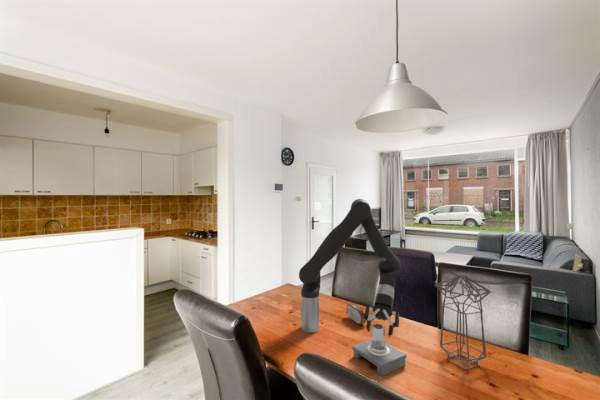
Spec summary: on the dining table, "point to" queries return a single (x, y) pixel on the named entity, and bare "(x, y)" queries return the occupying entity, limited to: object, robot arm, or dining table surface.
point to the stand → (381, 357)
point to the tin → (355, 313)
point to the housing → (378, 339)
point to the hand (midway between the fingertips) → (378, 333)
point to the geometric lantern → (466, 280)
